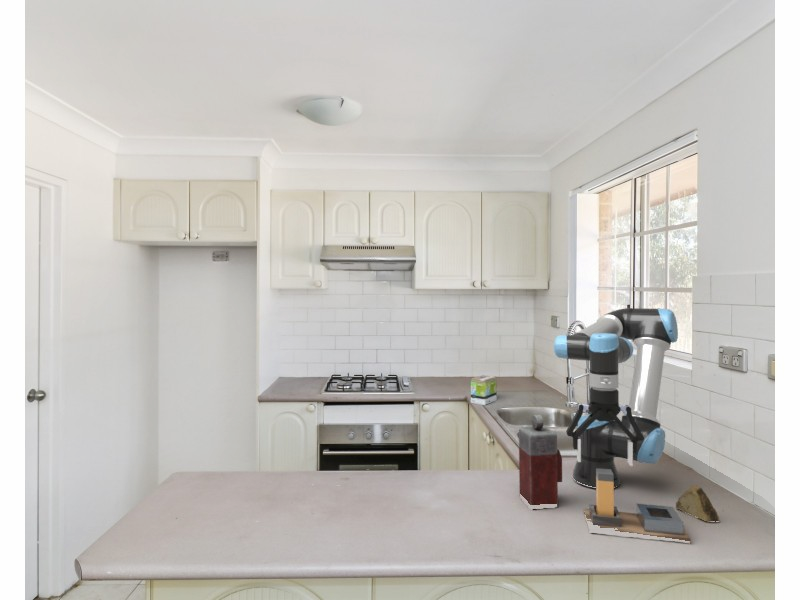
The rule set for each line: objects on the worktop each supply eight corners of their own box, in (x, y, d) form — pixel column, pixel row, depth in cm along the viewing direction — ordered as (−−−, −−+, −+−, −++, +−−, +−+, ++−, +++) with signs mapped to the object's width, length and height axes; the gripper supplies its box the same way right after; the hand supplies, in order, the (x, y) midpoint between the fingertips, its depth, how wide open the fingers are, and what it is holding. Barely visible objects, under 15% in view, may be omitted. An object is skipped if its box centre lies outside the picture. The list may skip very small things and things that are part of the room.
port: (636, 515, 138) (636, 503, 138) (672, 518, 136) (672, 506, 136) (644, 531, 129) (644, 518, 129) (683, 535, 127) (683, 522, 127)
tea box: (485, 405, 275) (485, 380, 274) (470, 403, 281) (469, 378, 280) (497, 400, 287) (496, 376, 286) (482, 398, 293) (481, 374, 292)
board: (583, 513, 143) (583, 500, 143) (676, 522, 137) (676, 508, 137) (589, 533, 132) (589, 519, 132) (690, 544, 125) (690, 529, 125)
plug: (596, 515, 139) (596, 468, 138) (611, 517, 138) (610, 469, 137) (598, 522, 135) (598, 473, 134) (613, 524, 134) (613, 474, 133)
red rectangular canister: (565, 507, 148) (564, 417, 147) (530, 510, 146) (529, 419, 145) (551, 494, 156) (550, 410, 156) (519, 497, 155) (518, 412, 154)
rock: (664, 500, 146) (682, 510, 136) (679, 476, 147) (699, 485, 137) (694, 521, 145) (715, 534, 136) (709, 498, 146) (731, 509, 136)
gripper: (558, 388, 135) (559, 463, 135) (656, 392, 128) (656, 470, 129) (556, 383, 142) (557, 454, 142) (648, 387, 136) (648, 461, 136)
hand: (604, 462), depth 136 cm, fingers open, 13 cm apart
